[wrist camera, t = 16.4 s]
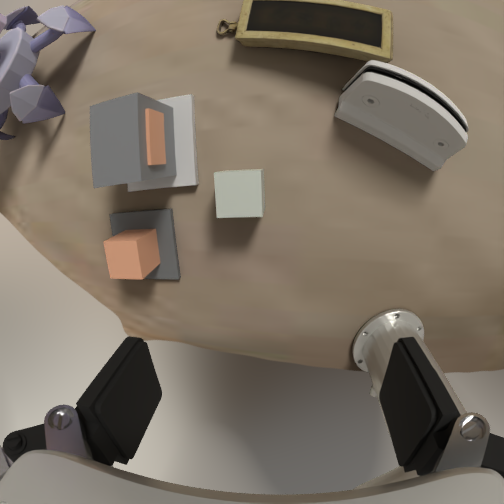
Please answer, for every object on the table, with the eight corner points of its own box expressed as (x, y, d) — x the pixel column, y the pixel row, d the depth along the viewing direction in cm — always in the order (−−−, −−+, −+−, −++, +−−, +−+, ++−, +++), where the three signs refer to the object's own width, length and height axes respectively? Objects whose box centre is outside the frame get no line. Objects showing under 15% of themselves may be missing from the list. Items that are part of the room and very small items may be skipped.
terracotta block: (160, 262, 39) (142, 279, 33) (130, 262, 40) (110, 278, 34) (155, 228, 38) (136, 240, 32) (125, 230, 38) (103, 241, 32)
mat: (180, 277, 40) (178, 279, 40) (122, 276, 41) (120, 278, 41) (172, 208, 37) (170, 209, 37) (112, 213, 38) (109, 214, 38)
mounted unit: (198, 184, 36) (166, 194, 25) (132, 190, 37) (85, 203, 26) (194, 96, 32) (160, 73, 22) (127, 109, 33) (79, 97, 23)
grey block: (265, 207, 36) (262, 216, 31) (226, 208, 37) (216, 218, 31) (263, 168, 35) (260, 170, 29) (224, 170, 35) (214, 172, 30)
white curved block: (331, 115, 32) (359, 72, 22) (340, 89, 32) (366, 45, 22) (435, 172, 32) (482, 153, 22) (439, 145, 32) (482, 122, 22)
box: (387, 73, 28) (395, 59, 23) (221, 56, 32) (207, 42, 28) (387, 25, 25) (393, 8, 20) (229, 12, 30) (217, -4, 25)
